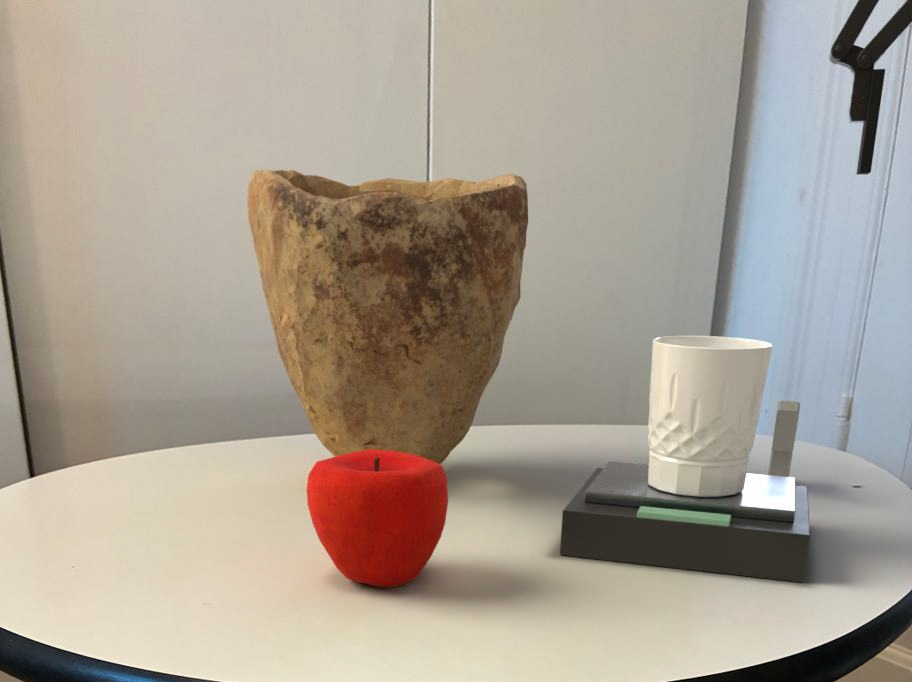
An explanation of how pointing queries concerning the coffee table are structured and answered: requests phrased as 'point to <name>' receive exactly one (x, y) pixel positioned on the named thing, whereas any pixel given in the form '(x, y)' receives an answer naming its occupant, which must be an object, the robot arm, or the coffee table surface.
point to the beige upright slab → (784, 438)
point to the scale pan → (755, 501)
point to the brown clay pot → (389, 300)
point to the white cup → (704, 412)
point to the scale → (688, 538)
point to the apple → (378, 513)
